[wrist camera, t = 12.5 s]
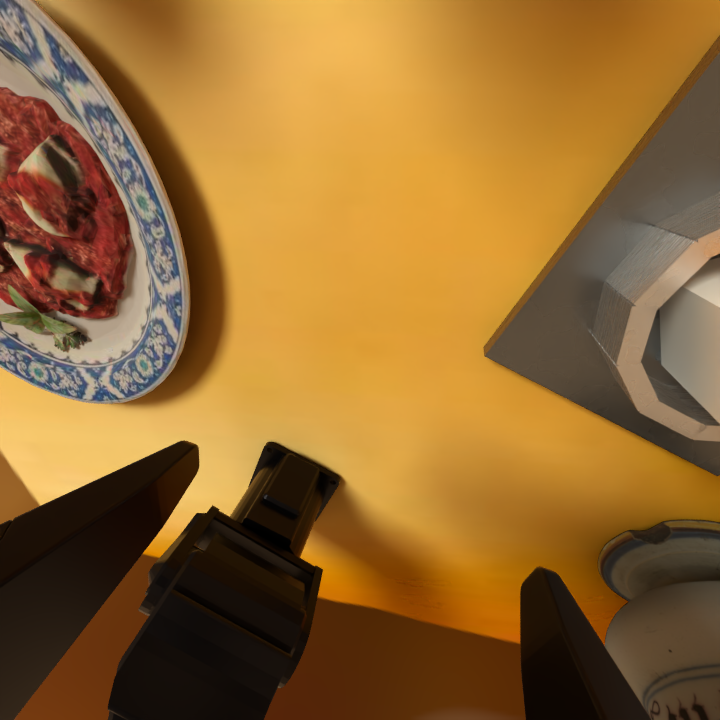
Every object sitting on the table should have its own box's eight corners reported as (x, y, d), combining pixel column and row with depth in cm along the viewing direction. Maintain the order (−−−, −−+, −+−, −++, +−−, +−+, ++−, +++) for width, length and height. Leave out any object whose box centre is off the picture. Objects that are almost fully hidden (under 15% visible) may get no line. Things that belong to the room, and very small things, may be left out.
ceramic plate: (-243, -186, 16) (-377, -253, 13) (259, 115, 17) (223, 107, 14) (-92, 289, 30) (-143, 300, 27) (176, 437, 30) (151, 462, 28)
